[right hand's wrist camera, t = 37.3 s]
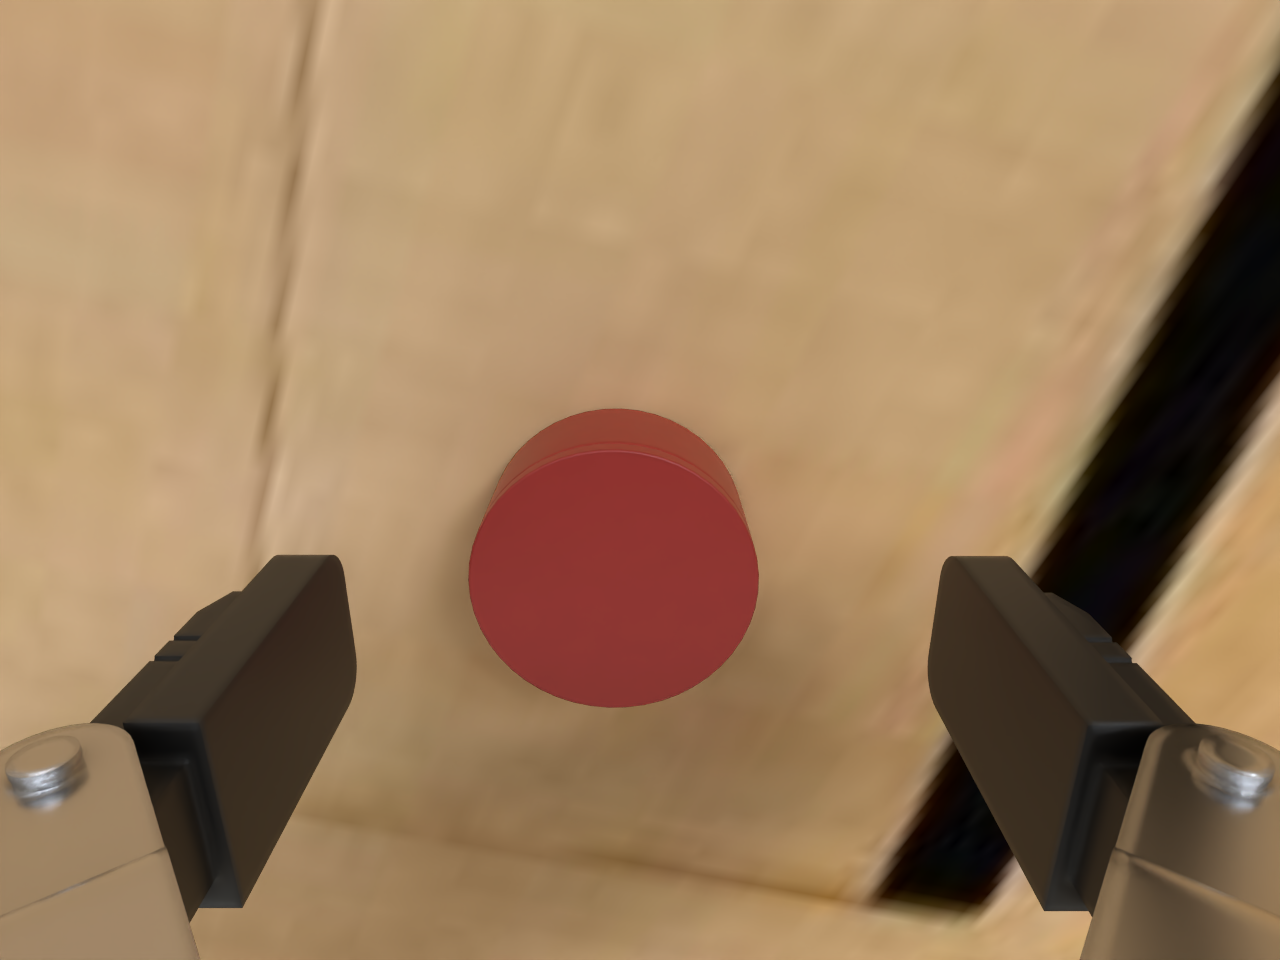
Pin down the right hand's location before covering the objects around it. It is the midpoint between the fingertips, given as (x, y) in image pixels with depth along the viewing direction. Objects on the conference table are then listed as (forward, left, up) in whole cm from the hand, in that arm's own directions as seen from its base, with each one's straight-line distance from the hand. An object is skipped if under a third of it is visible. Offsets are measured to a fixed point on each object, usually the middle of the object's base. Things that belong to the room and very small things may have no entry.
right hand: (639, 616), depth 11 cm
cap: (0, 0, -1) cm, 1 cm away
